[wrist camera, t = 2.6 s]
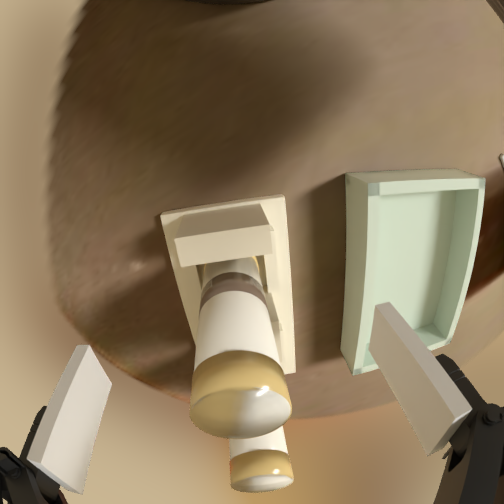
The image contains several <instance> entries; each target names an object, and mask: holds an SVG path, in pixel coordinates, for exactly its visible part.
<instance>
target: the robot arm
mask: <svg viewBox="0 0 504 504" xmlns="http://www.w3.org/2000/svg"><path fill="white" fill-rule="evenodd" d="M186 1H192V2H199V3H210V4H240V3H252V2H259V1H265V0H186ZM486 1H487V2H488V3H489V5H490V6H491V7H492V8H493V10H494V11H495V12H496V14H497V15H498V16H499V18H500V19H501V20H502V22H503V23H504V0H486ZM368 350H369V352H370V353H371V355H372V357H373V359H374V360H375V362H376V364H377V365H378V367H379V369H380V371H381V372H382V374H383V376H384V377H385V379H386V381H387V383H388V384H389V386H390V388H391V390H392V392H393V393H394V395H395V397H396V399H397V400H398V402H399V404H400V406H401V408H402V410H403V411H404V413H405V415H406V417H407V419H408V421H409V422H410V424H411V426H412V428H413V430H414V432H415V434H416V436H417V437H418V439H419V441H420V443H421V445H422V447H423V449H424V451H425V453H426V455H427V456H429V455H431V454H433V453H435V452H437V451H439V450H440V449H442V448H443V447H444V446H445V445H446V444H447V443H448V441H449V442H450V444H451V445H452V446H451V447H450V448H449V450H448V451H447V452H446V453H445V454H444V456H443V458H442V459H445V458H446V457H447V456H448V459H447V462H446V466H445V470H444V473H443V477H442V480H441V483H440V486H439V489H438V492H437V495H436V498H435V501H434V504H504V407H499V406H498V405H496V404H487V403H486V402H485V401H484V400H483V399H482V397H481V396H480V395H479V393H478V392H477V391H476V389H475V388H474V386H473V385H472V384H471V383H470V381H469V380H468V379H467V378H466V377H465V375H464V374H463V372H462V371H461V370H460V368H459V367H458V366H457V365H456V363H455V362H454V361H453V360H452V359H451V358H449V357H447V356H446V355H444V354H441V355H438V356H436V357H434V356H433V354H432V353H431V352H430V350H429V349H428V348H427V347H426V345H425V344H424V343H423V342H422V340H421V339H420V338H419V337H418V335H417V334H416V333H415V332H414V330H413V329H412V328H411V327H410V326H409V324H408V323H407V322H406V321H405V319H404V318H403V317H402V316H401V315H400V313H399V312H398V311H397V310H396V309H395V308H394V306H393V305H392V304H391V303H390V302H386V303H382V304H378V305H375V309H374V316H373V323H372V330H371V336H370V343H369V348H368ZM111 386H112V383H111V382H110V380H109V378H108V377H107V375H106V373H105V372H104V370H103V368H102V366H101V365H100V363H99V361H98V359H97V358H96V356H95V354H94V352H93V350H92V348H91V347H90V345H77V346H76V348H75V350H74V352H73V354H72V356H71V358H70V360H69V361H68V363H67V365H66V368H65V369H64V371H63V373H62V376H61V378H60V380H59V382H58V384H57V386H56V388H55V390H54V392H53V395H52V397H51V399H50V401H49V404H48V406H43V407H42V409H41V410H40V411H39V412H38V413H37V415H36V417H35V420H34V422H33V425H32V427H31V429H30V432H29V434H28V437H27V439H26V442H25V444H24V447H23V449H22V452H21V455H20V457H19V458H17V456H15V455H14V454H13V453H12V452H11V451H10V450H9V449H8V448H5V447H1V448H0V504H3V499H5V500H6V501H7V502H8V504H68V503H67V501H66V499H65V497H64V495H63V493H62V492H61V490H59V488H60V485H61V486H62V487H64V488H65V489H66V490H68V491H71V492H74V493H78V494H83V491H84V486H85V481H86V476H87V472H88V467H89V463H90V459H91V455H92V451H93V447H94V443H95V439H96V436H97V432H98V429H99V425H100V422H101V418H102V415H103V412H104V408H105V405H106V402H107V398H108V395H109V392H110V389H111ZM2 498H3V499H2Z"/></svg>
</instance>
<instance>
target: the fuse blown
mask: <svg viewBox="0 0 504 504" xmlns="http://www.w3.org/2000/svg"><path fill="white" fill-rule="evenodd" d="M291 413H292V406H291V401H290V397H289V393H288V389H287V384H286V380H285V376H284V372H283V369H282V368H281V365H280V360H279V356H278V352H277V347H276V343H275V339H274V334H273V330H272V326H271V321H270V317H269V311H268V307H267V302H266V298H265V294H264V291H263V287H262V283H261V278H260V274H259V266H258V262H257V258H256V256H253V257H246V258H239V259H233V260H226V261H219V262H212V263H205V264H204V278H203V287H202V294H201V301H200V310H199V323H198V333H197V343H196V354H195V366H194V373H193V376H192V386H191V399H190V418H191V420H192V422H193V423H194V424H195V426H196V427H198V428H199V429H200V430H202V431H204V432H206V433H208V434H210V435H213V436H217V437H221V438H227V439H248V438H254V437H259V436H262V435H266V434H268V433H271V432H273V431H275V430H277V429H278V428H280V427H281V426H282V425H284V424H285V423H286V422H287V420H288V419H289V418H290V416H291Z"/></svg>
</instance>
